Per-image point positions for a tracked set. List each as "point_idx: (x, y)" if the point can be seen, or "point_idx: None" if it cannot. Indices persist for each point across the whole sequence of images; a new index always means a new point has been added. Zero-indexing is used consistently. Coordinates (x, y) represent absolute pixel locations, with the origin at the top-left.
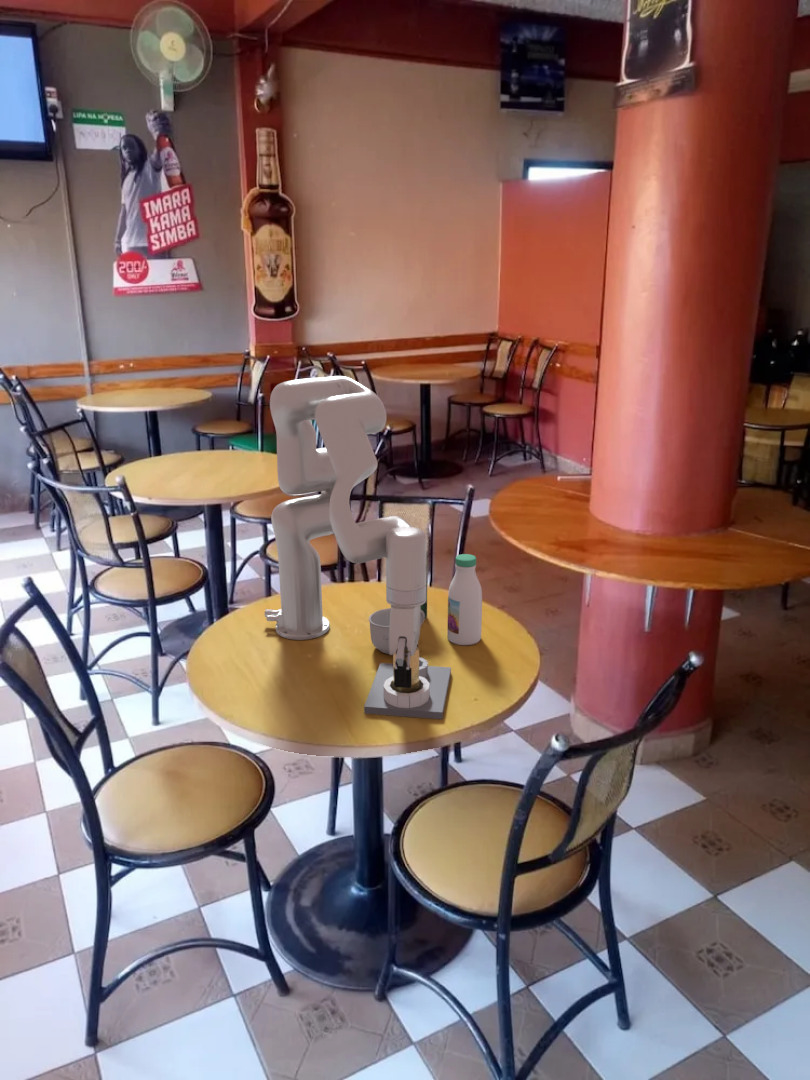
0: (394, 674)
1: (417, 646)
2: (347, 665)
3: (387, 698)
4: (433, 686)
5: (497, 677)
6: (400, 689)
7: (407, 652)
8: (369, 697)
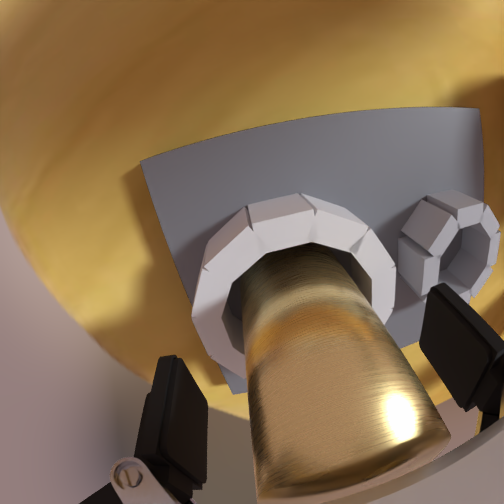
0: (147, 414)
1: (464, 406)
2: (441, 3)
3: (206, 250)
4: None
5: (432, 381)
6: (242, 316)
7: (320, 499)
8: (221, 145)
